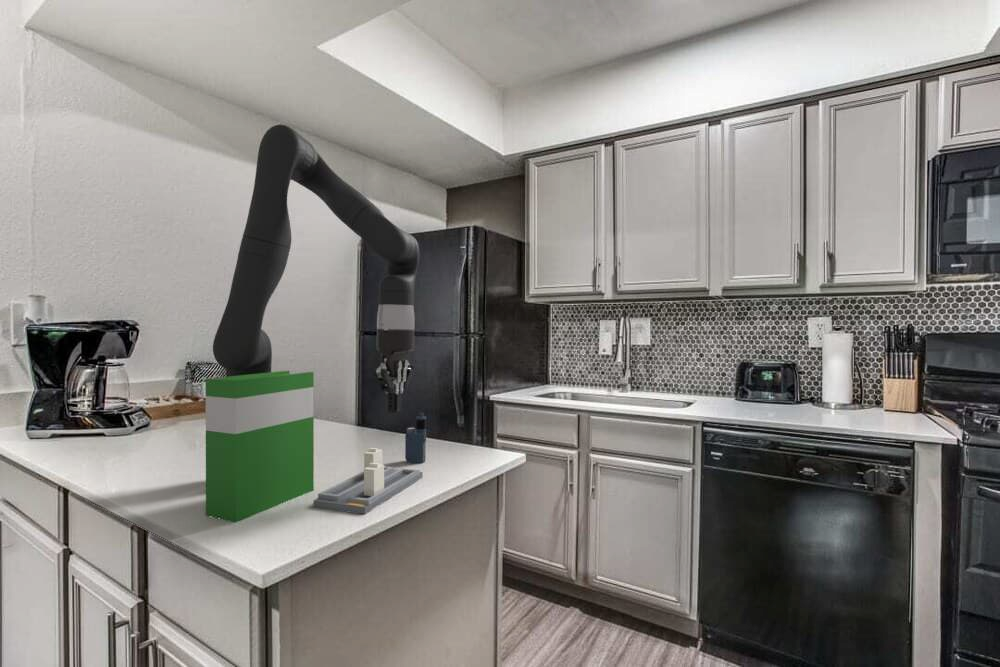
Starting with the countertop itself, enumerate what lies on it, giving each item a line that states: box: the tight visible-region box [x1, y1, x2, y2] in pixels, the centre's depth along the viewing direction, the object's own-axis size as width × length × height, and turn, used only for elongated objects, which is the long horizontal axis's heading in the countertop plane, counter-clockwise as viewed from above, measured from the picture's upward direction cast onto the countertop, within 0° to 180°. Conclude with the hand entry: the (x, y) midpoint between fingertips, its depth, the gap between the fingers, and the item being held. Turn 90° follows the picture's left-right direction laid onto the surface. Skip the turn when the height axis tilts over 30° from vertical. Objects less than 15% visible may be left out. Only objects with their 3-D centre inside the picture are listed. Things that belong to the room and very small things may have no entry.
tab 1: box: [363, 447, 383, 469], centre depth 104 cm, size 2×4×6 cm, turn 162°
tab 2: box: [363, 463, 385, 496], centre depth 92 cm, size 2×4×6 cm, turn 162°
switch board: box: [313, 465, 424, 515], centre depth 98 cm, size 11×22×2 cm, turn 162°
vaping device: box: [404, 412, 427, 464], centre depth 119 cm, size 3×5×12 cm, turn 79°
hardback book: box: [204, 370, 315, 523], centre depth 91 cm, size 18×7×24 cm, turn 157°
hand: (394, 411), depth 99 cm, fingers closed
